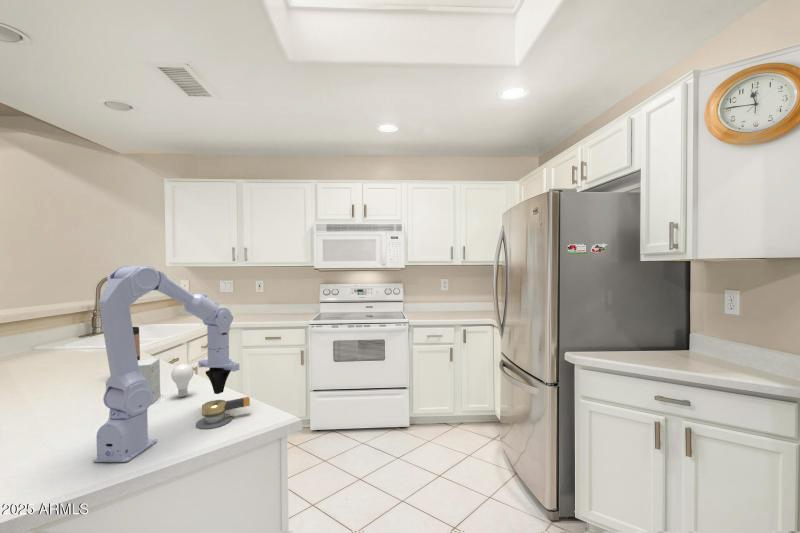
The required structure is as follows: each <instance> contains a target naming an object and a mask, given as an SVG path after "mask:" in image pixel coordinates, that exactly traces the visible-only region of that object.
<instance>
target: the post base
mask: <svg viewBox="0 0 800 533" xmlns="http://www.w3.org/2000/svg"><path fill="white" fill-rule="evenodd" d="M233 416H235V414H234V413H233V414H229V413H223V414H221V415H218V416H214V417H202V418H200V419H199V420H198V421H197V422H195V427H196V428H197V429H199V430H212V429H216V428H220V427H223V426H226V425H227V424H230V423H231V422H232V420H233Z"/></svg>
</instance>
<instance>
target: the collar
mask: <svg viewBox="0 0 800 533" xmlns="http://www.w3.org/2000/svg"><path fill="white" fill-rule="evenodd" d="M250 398H251V397H249V396H246V397H245V396H244V397H242V398H241V397H240V398H237V399H230V400H224V399H213V400H210V401H207V402H205V403H203V404H202V405H201V415H202V418H204V417H214V416H218V415H221V414H226V412H227V411H230V410H234V409H235V410H236V409H240V408H246V407H250V406H251V405H250V404H251V402H250Z"/></svg>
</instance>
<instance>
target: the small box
mask: <svg viewBox="0 0 800 533" xmlns="http://www.w3.org/2000/svg"><path fill="white" fill-rule="evenodd" d="M138 366H139V371H140V372H141V374H142V375H143V376H144V378H145V379H146V382H147V386H148V387H149V388H150V389H151V391H152V393H153V400H152V403H151V405H153V404H154V403H155V402H156V401H157V399H159V398H160V397H161V369H160V367H161V366H160V358H147V359H140V360H138Z"/></svg>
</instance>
